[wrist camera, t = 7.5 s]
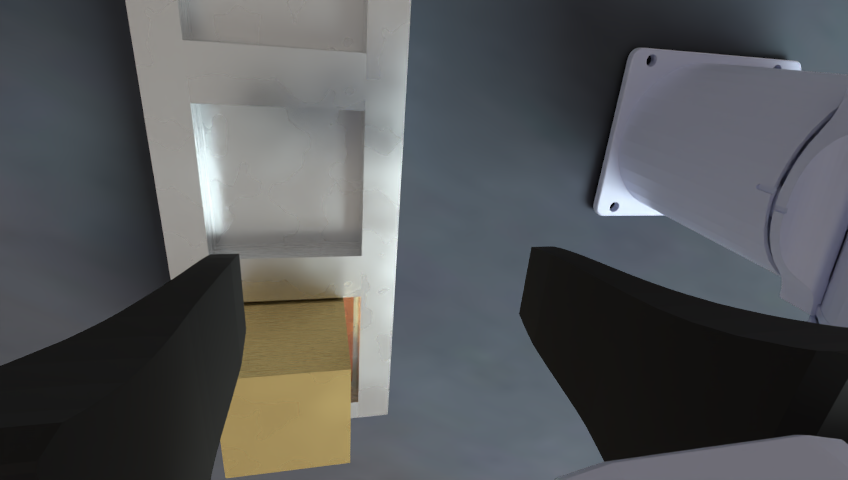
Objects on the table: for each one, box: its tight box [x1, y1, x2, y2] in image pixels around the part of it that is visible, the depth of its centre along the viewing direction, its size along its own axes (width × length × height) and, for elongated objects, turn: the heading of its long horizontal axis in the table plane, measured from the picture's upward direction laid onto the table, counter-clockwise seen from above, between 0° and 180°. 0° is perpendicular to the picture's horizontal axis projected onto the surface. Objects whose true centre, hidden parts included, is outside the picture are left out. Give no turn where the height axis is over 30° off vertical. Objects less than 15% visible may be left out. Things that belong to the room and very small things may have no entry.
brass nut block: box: [220, 298, 351, 478], centre depth 19 cm, size 4×4×6 cm
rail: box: [125, 0, 411, 418], centre depth 19 cm, size 9×24×2 cm, turn 175°
